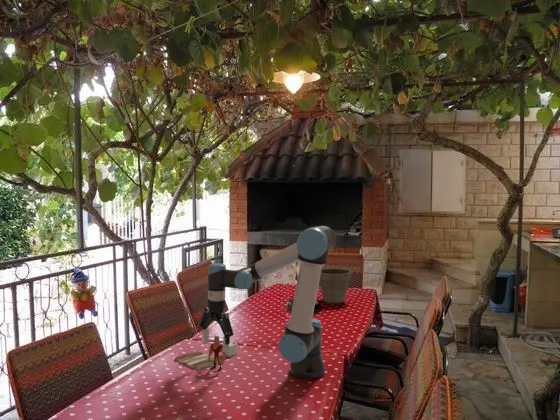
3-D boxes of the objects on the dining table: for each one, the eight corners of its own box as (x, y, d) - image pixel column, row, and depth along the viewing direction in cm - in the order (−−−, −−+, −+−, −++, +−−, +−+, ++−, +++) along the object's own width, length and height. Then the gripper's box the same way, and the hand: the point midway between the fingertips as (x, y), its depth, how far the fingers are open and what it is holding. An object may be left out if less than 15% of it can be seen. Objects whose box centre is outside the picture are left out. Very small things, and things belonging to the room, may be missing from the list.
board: (221, 362, 202) (221, 359, 202) (198, 371, 192) (198, 368, 192) (197, 352, 214) (197, 350, 214) (174, 360, 204) (174, 357, 204)
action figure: (205, 368, 195) (205, 334, 194) (210, 365, 198) (210, 332, 198) (222, 372, 190) (222, 338, 190) (227, 369, 194) (227, 336, 193)
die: (237, 354, 212) (237, 342, 212) (229, 356, 209) (229, 345, 208) (230, 351, 216) (230, 340, 216) (222, 354, 212) (222, 342, 212)
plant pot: (311, 298, 325) (311, 268, 324) (341, 295, 332) (342, 267, 331) (324, 306, 301) (324, 274, 300) (357, 304, 308) (357, 273, 307)
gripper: (191, 295, 199) (191, 342, 200) (228, 306, 182) (228, 357, 183) (205, 292, 204) (204, 338, 205) (242, 303, 187) (241, 352, 189)
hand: (215, 347), depth 194 cm, fingers open, 13 cm apart
